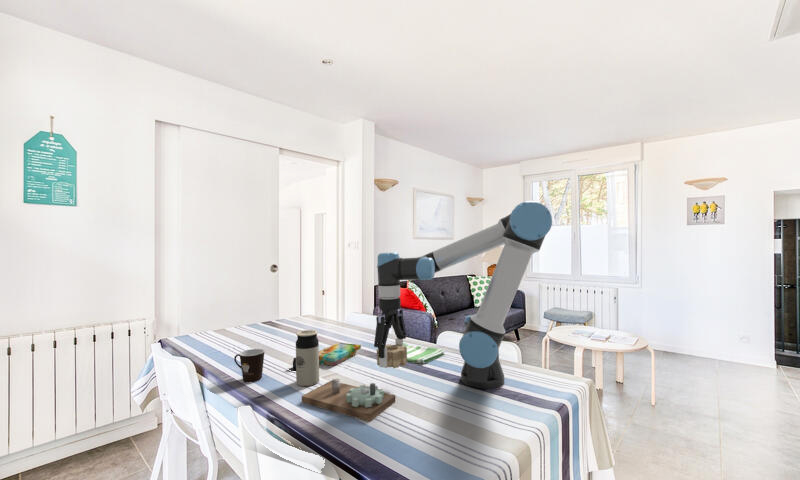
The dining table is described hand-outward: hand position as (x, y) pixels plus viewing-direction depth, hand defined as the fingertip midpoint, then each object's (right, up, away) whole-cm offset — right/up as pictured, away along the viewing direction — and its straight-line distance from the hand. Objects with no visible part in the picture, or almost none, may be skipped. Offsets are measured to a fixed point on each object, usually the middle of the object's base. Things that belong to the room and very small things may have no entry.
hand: (391, 362), depth 123 cm
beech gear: (0, 0, 0) cm, 0 cm away
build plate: (-38, -10, +21) cm, 45 cm away
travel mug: (-30, -9, +6) cm, 32 cm away
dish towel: (+8, -9, +35) cm, 38 cm away
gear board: (-13, -9, -11) cm, 19 cm away
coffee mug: (-53, -10, +11) cm, 55 cm away
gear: (-8, -7, -14) cm, 17 cm away
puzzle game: (-24, -10, +32) cm, 42 cm away
